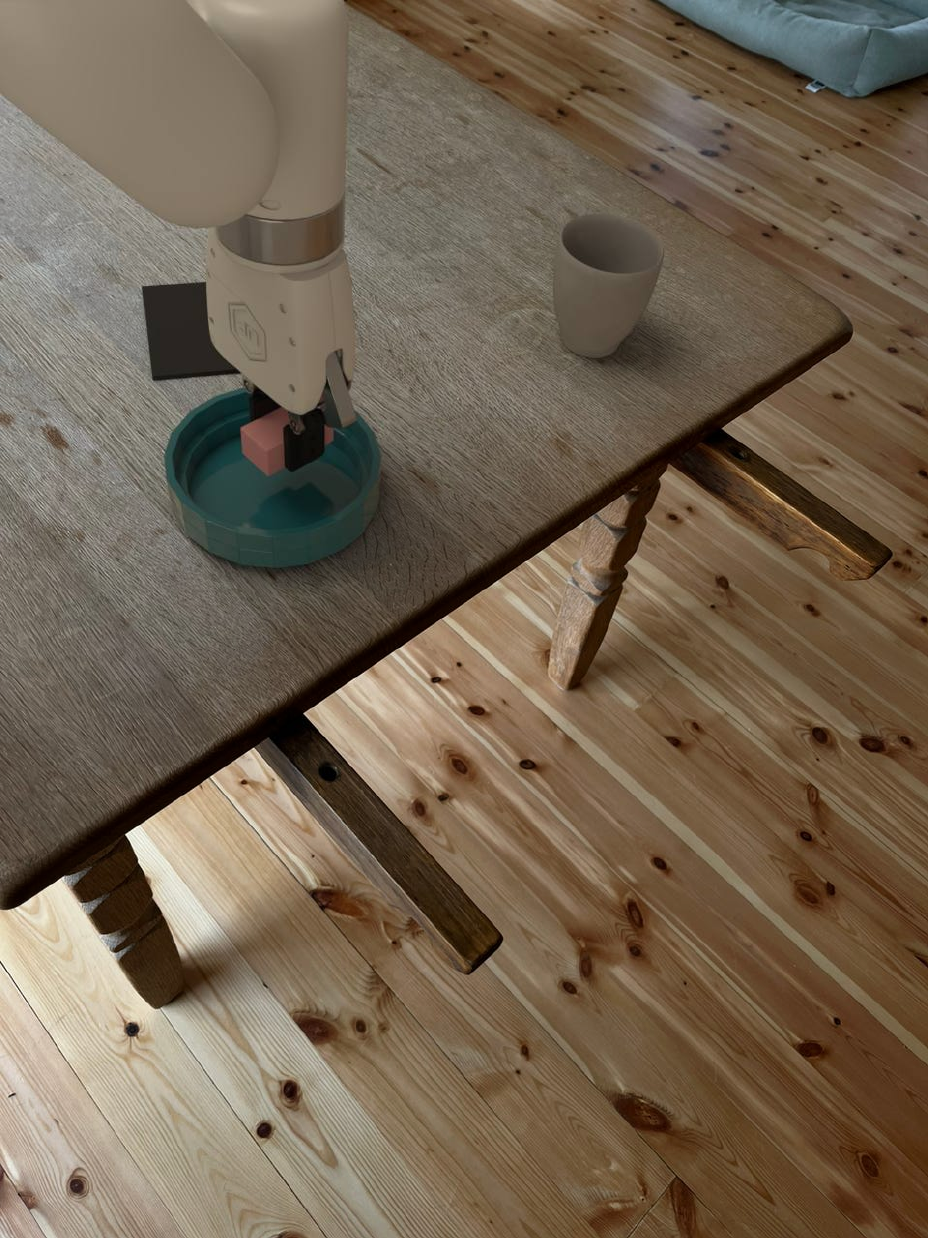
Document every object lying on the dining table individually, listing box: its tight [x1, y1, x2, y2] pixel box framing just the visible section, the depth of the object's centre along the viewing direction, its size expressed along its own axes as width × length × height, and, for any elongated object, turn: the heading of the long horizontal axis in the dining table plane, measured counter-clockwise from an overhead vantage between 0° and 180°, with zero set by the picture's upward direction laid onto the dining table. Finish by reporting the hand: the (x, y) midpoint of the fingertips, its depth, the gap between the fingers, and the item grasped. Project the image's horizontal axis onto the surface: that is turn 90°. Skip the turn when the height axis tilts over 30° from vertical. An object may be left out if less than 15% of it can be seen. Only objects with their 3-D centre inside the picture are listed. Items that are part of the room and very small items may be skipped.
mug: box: [552, 212, 665, 359], centre depth 87 cm, size 12×9×10 cm
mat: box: [141, 281, 241, 381], centre depth 86 cm, size 16×12×1 cm
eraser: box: [240, 407, 334, 476], centre depth 72 cm, size 6×3×2 cm, turn 134°
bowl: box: [163, 386, 382, 569], centre depth 74 cm, size 15×15×4 cm
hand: (288, 445), depth 73 cm, fingers closed on eraser, 3 cm apart
